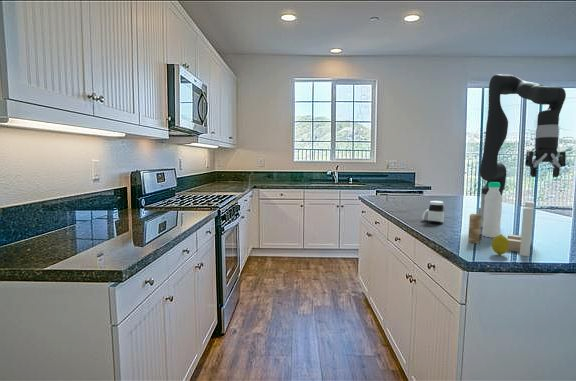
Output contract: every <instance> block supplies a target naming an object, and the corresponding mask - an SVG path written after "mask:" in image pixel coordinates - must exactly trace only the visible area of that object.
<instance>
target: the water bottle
mask: <svg viewBox="0 0 576 381" xmlns="http://www.w3.org/2000/svg"><path fill="white" fill-rule="evenodd" d="M488 188H489V191H488V192H487V194H486V195H485V198H484V199H485V203H484V214H483V218H484V220H483V228H482V229H481V230H482V231H481V234H482V237H484V236H485V238H488V237H489V239H494V237H496V236H498V235H500V234H501V230H500V229H501V221H500V220H501V218H502V207H503V206H502V204H503V195H502V196H501V195H500V192H499V188H500V183H499V182H489V183H488Z"/></svg>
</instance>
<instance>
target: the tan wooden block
mask: <svg viewBox="0 0 576 381" xmlns="http://www.w3.org/2000/svg"><path fill="white" fill-rule="evenodd" d="M481 218H482V215H481V214H478V213H470V214H469V222H468V223H469V224H468V238H467V240H468V241H467V243H468V242H473V243H472V244H475V243H479V242H480V243H481V241H482V239H483V238H482V237H483V235H482V231H481V230H482V227H481ZM480 243H479V244H480Z"/></svg>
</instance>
